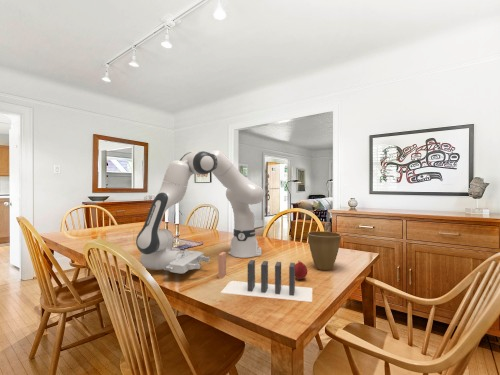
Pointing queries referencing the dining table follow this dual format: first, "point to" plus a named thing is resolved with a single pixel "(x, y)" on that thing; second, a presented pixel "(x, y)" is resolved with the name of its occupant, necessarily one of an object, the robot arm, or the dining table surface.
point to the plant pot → (324, 248)
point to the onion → (300, 270)
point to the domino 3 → (278, 278)
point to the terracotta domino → (221, 265)
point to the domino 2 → (264, 276)
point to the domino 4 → (292, 279)
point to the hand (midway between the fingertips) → (204, 262)
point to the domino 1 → (251, 275)
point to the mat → (268, 291)
